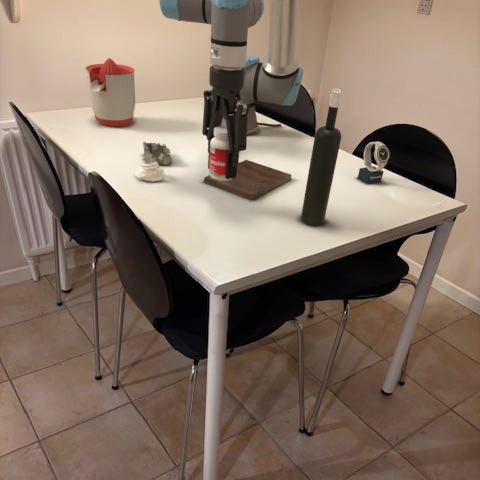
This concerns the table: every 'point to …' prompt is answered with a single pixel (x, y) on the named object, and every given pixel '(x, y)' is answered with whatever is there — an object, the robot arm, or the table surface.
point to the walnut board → (251, 180)
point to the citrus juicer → (112, 93)
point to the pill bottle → (219, 154)
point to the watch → (370, 172)
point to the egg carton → (156, 153)
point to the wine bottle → (322, 166)
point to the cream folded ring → (150, 172)
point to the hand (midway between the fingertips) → (221, 172)
